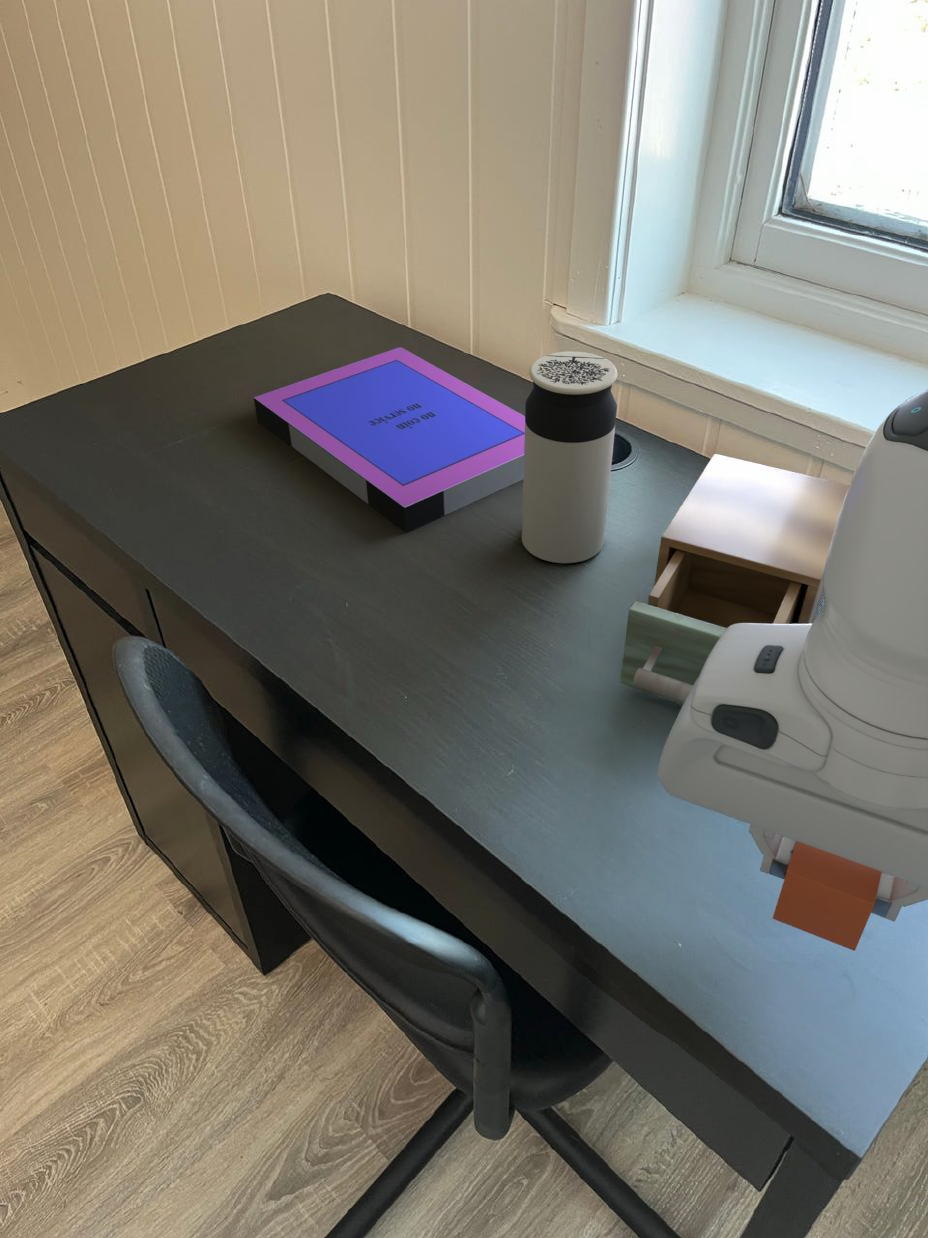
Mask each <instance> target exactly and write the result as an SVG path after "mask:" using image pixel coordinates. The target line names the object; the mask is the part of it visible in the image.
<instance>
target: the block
mask: <svg viewBox="0 0 928 1238" xmlns="http://www.w3.org/2000/svg"><path fill="white" fill-rule="evenodd" d="M881 875H882V872H881V871H878V870H875V869H873V868H870V867H867V866H864V865H862V864H859V863H856V862H853V861H851V860H848V859H845V858H842V857H839V856H837V855H834V854H831V853H828V852H826V851H823V850H820V849H817V848H814V847H812V846H809V845H806V844H803V843H801V842H798V841H796V845H795V848H794V851H793V854H792V857H791V860H790V863H789V866H788V870H787V873H786V876H785V879H783V882H782V886H781V889H780V892H779V896H778V899H777V902H776V906H775V909H774V912H773V915H772V919H773V920H775V921H778V922H780V923H782V924H785V925H788V926H790V927H792V928H795V929H798V930H801V931H802V932H805V933H808V934H810V935H813V936H815V937H818V938H820V939H824V940H825V941H828V942H830V943H833V944H835V945H838V946H841V947H843V948H846V949H847V950H848V949H849V950H850V951H853V952H855V951H856V949H857V947H858V945H859V942H860V940H861V937H862V936H863V934H864V931H865V928H866V926H867V923H868V921H869V919H870V917H871V914H872V913H871V912H872V909H873V907H874V905H875V901H876V896H877V892H878V888H879V883H880V879H881Z"/></svg>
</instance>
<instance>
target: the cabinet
mask: <svg viewBox="0 0 928 1238" xmlns="http://www.w3.org/2000/svg"><path fill="white" fill-rule="evenodd" d="M849 485H850V484H847V483H842V482H839V481H834V480H830V479H826V478H821V477H817V476H813V475H808V474H804V473H799V472H794V471H791V470H786V469H782V468H778V467H774V466H769V465H765V464H761V463H757V462H752V461H748V460H744V459H741V458H740V459H739V458H735V457H730V456H727V455H723V454H718V453H713V455H712V456H711V458H710V460H709V462H708V463H707V465H706V466H705V467H704V469H703V471H701V474H700V475H699V477H698V478H697V480H696V481H695V483H694V485H693V486H692V487H691V489H690V491H689V493H688V494H687V495H686V497H685V499H684V501H683V502H682V504H681V505H680V507H679V508H678V510H677V511H676V513H675V515H674V516H673V518H672V519H671V521H670V523H669V524H668V525H667V527H666V529H665V530H664V532H663V533H662V534H661V537H660V544H659V549H658V556H657V563H656V571H655V577H654V584H653V587H654V586H655V584H656V583H657V581H658V580H659V578H660V576H661V575H662V573H663V571H664V570H665V568H666V566H667V565H668V563H669V561H670V560H671V558H672V556H673V555H674V553H675V551H676V550H677V549H679V550H683V551H687V552H690V553H694V554H697V555H701V556H705V557H708V558H712V559H716V560H719V561H723V562H727V563H730V564H734V565H737V566H741V567H745V568H748V569H752V570H756V571H759V572H763V573H767V574H770V575H774V576H777V577H781V578H785V579H788V580H792V581H796V582H799V583H803V584H806V585H805V589H804V592H803V596H802V600H801V603H800V607H799V610H798V614H797V618H796V621H795V624H812V623H813V622H814V621H815V619H816V618H817V616H818V612H819V609H820V606H821V604H822V601H823V598H824V597H825V595H824V588H823V573H824V567H825V562H826V558H827V554H828V551H829V547H830V543H831V540H832V536H833V533H834V530H835V526H836V523H837V520H838V517H839V514H840V511H841V508H842V505H843V502H844V499H845V496H846V493H847V491H848V488H849Z"/></svg>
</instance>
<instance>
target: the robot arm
mask: <svg viewBox="0 0 928 1238" xmlns="http://www.w3.org/2000/svg"><path fill="white" fill-rule="evenodd" d="M849 482H850V483H849V484H848V485H849V488H848V491H847V493H846V496H845V499H844V502H843V505H842V508H841V511H840V514H839V517H838V520H837V523H836V526H835V530H834V533H833V536H832V540H831V543H830V547H829V551H828V554H827V558H826V562H825V567H824V573H823V588H824V603H823V607H822V610H821V611H820V612H819V614H817V616H816V617H815V620H814V622H813V623H812V624H759V623H738V624H733V625H731V626H729V627H728V628H727V629H726V631H725V632H724V633H723V635H722V636H721V637H720V639H719V640H718V642H717V643H716V644H715V646H714V648H713V649H712V651H711V653H710V654H709V656H708V658H707V660H706V662H705V664H704V666H703V668H702V671H701V673H700V676H699V677H698V678H697V680H696V681H695V683H694V685H693V687H692V689H691V691H690V693H689V694H688V696H687V698H686V700H685V702H684V704H683V705H682V706H681V707H680V710H679V712H678V714H677V716H676V719H675V721H674V723H673V725H672V727H671V729H670V732H669V734H668V736H667V738H666V740H665V743H664V745H663V748H662V751H661V754H660V758H659V761H658V766H657V772H656V777H657V780H658V782H659V784H660V785H661V787H662V788H663V789H664V790H665V792H666V793H667V794H668V795H669V796H670V797H673V798H676V799H679V800H681V801H685V802H687V803H690V804H693V805H696V806H699V807H701V808H703V809H707V810H708V811H709V810H710V811H711V812H712V811H713V812H715V813H718V814H721V815H724V816H726V817H728V818H731V819H735V820H738V821H739V822H740V821H741V822H743V823H746V824H749V827H748V833H749V834H750V835H751V838H752V839H753V841H754V843H755V845H756V846H757V848H758V850H759V852H760V853H761V855H763V858H762V862H761V865H760V869H759V871H760V872H761V873H764V874H767V875H771V876H773V877H776V878H779V879H781V880H784V879H785V876H786V873H787V870H788V866H789V863H790V860H791V857H792V854H793V851H794V848H795V845H796V841H798V842H801V843H803V844H806V845H809V846H812V847H814V848H817V849H820V850H823V851H826V852H828V853H831V854H834V855H837V856H839V857H842V858H845V859H848V860H851V861H853V862H856V863H859V864H862V865H864V866H867V867H870V868H873V869H875V870H878V871H881V872H882V875H881V879H880V883H879V888H878V892H877V896H876V901H875V905H874V907H873V909H872V912H871V914H873V915H876V916H878V917H881V918H883V919H886V920H889V921H890V922H896V921H897V918H898V916H899V914H900V912H901V909H902V907H904V908H906V907H909V906H912V905H916V904H918V903H921V902H925V901H927V900H928V388H927V389H924V390H922V391H920V392H918V393H916V394H915V395H913V396H911V397H909V398H907V399H906V400H904V401H903V402H902V403H900V404H899V405H898V406H897V407H896V408H895V409H893V410H892V411H891V412H890V413H889V414H888V415H887V416H886V417H885V419H884V420H883V421H882V422H881V424H880V425H879V426H878V428H877V429H876V430H875V431H874V433H873V435H872V437H871V438H870V439H869V442H868V443H867V445H866V447H865V449H864V450H863V452H862V454H861V457H860V459H859V461H858V464H857V465H856V468H855V470H854V472H853V474H852V477H851V480H850V481H849Z"/></svg>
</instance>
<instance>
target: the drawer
mask: <svg viewBox="0 0 928 1238" xmlns="http://www.w3.org/2000/svg"><path fill="white" fill-rule="evenodd" d="M654 584H655V583H654ZM805 585H806V584H803V583H799V582H796V581H792V580H788V579H785V578H781V577H777V576H774V575H770V574H767V573H763V572H759V571H756V570H752V569H748V568H745V567H741V566H737V565H734V564H730V563H727V562H723V561H719V560H716V559H712V558H708V557H705V556H701V555H697V554H694V553H690V552H687V551H683V550H679V549H677V550H676V551H675V553H674V555H673V556H672V558H671V560H670V561H669V563H668V565H667V566H666V568H665V570H664V571H663V573H662V575H661V576H660V578H659V580H658V581H657V583H656V584H655V586H654V585H653V587H652V590H651V591H650V593H649V595H648V600H647V603H644V602H641V601H637V600H634V601H633V602H632V604H631V605H630V607H629V609H628V615H627V623H626V631H625V638H624V647H623V656H622V662H621V663H622V665H621V669H620V670H621V671H620V678H619V679H620V680H619V684H620V685H623V686H626V687H629V688H632V689H634V690H638V691H640V692H644V693H646V694H650V695H653V696H656V697H658V698H662V699H665V700H667V701H670V702H673V703H676V704H679V705H682V706H683V704H684V702H685V700H686V698H687V696H688V694H689V693H690V691H691V689H692V687H693V685H694V683H695V681H696V680H697V678H698V677H699V676H700V673H701V671H702V668H703V666H704V664H705V662H706V660H707V658H708V656H709V654H710V653H711V651H712V649H713V648H714V646H715V644H716V643H717V642H718V640H719V639H720V637H721V636H722V635H723V633H724V632H725V631H726V629H727V628H728V627H729V626H731V625H733V624H738V623H759V624H795V621H796V618H797V614H798V610H799V607H800V603H801V600H802V596H803V592H804V589H805Z"/></svg>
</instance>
